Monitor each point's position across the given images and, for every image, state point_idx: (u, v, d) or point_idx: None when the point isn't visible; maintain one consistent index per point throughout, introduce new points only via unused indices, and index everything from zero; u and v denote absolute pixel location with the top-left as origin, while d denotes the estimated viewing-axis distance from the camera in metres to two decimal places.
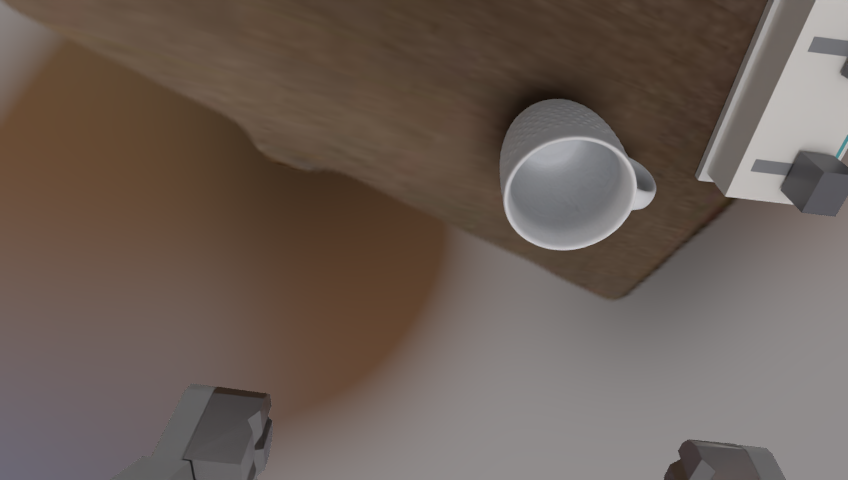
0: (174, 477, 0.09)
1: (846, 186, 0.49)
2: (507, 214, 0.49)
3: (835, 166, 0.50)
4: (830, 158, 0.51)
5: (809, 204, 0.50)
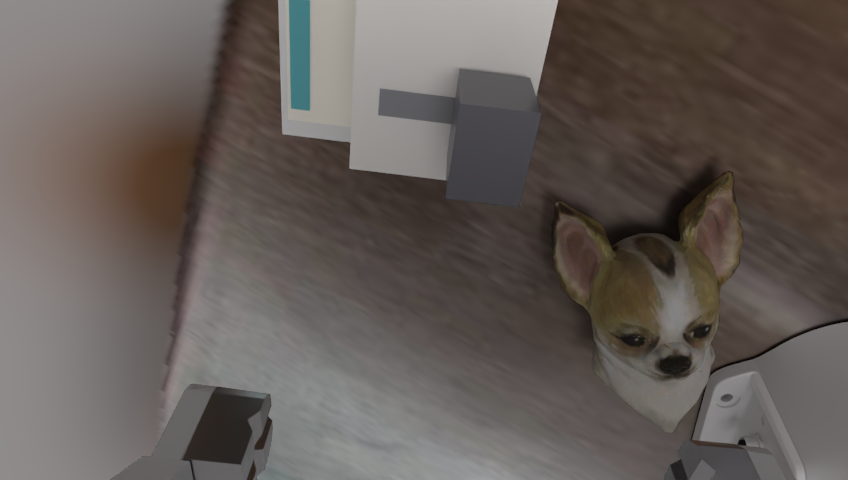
0: (174, 477, 0.09)
1: None
2: None
3: None
4: None
5: None
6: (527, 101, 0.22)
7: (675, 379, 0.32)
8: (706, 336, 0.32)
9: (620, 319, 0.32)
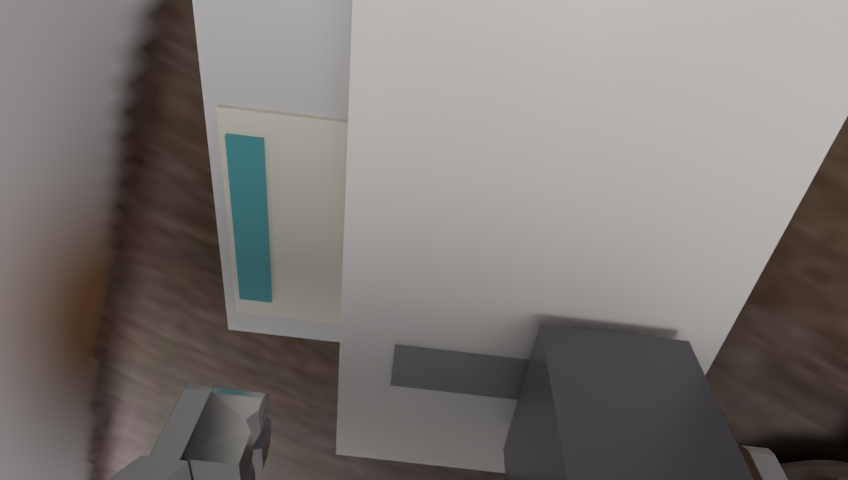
0: (172, 477, 0.09)
1: None
2: None
3: None
4: None
5: None
6: (723, 466, 0.09)
7: None
8: None
9: None
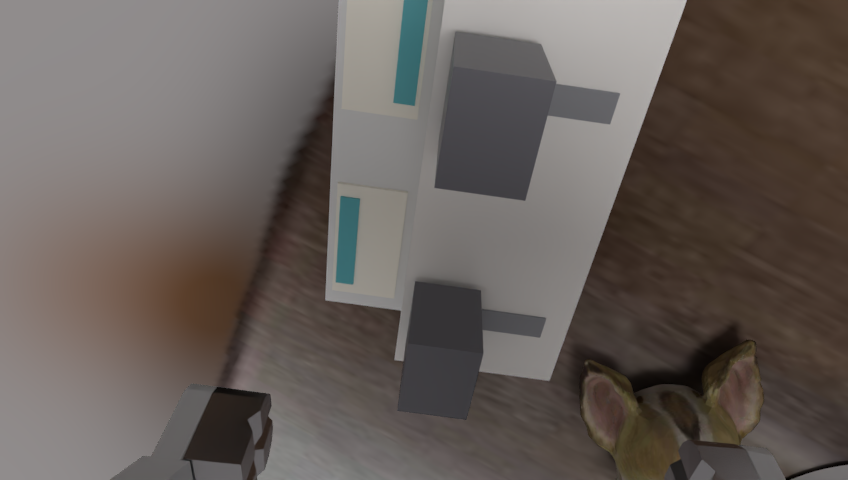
0: (174, 477, 0.09)
1: None
2: None
3: None
4: None
5: None
6: (473, 333, 0.24)
7: None
8: None
9: (646, 477, 0.33)
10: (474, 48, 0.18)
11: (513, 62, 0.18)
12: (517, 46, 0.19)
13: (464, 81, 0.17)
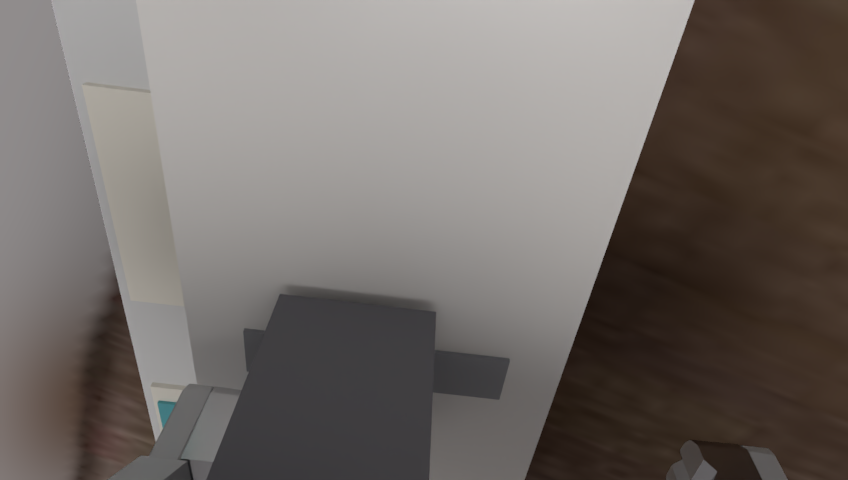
0: (172, 477, 0.09)
1: None
2: None
3: None
4: None
5: None
6: None
7: None
8: None
9: None
10: (292, 365, 0.10)
11: (355, 423, 0.09)
12: (385, 335, 0.10)
13: None
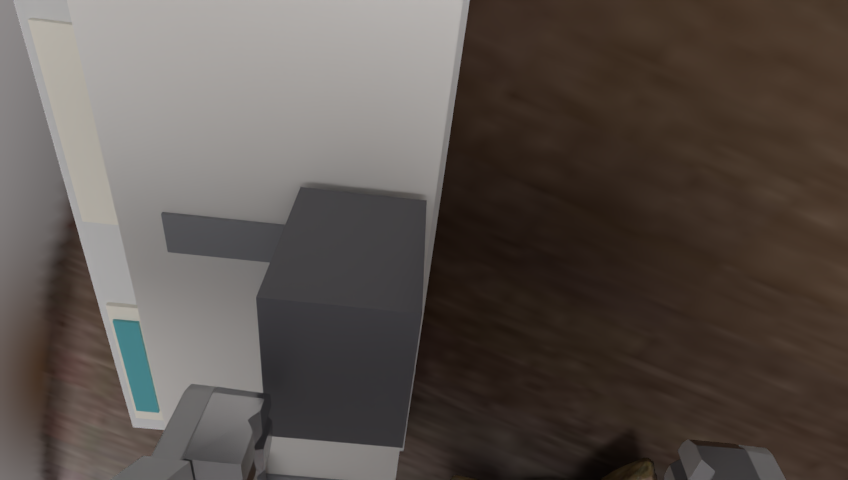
0: (174, 477, 0.09)
1: None
2: None
3: None
4: None
5: None
6: None
7: None
8: None
9: None
10: (314, 231, 0.12)
11: (366, 266, 0.11)
12: (386, 214, 0.13)
13: (278, 315, 0.11)
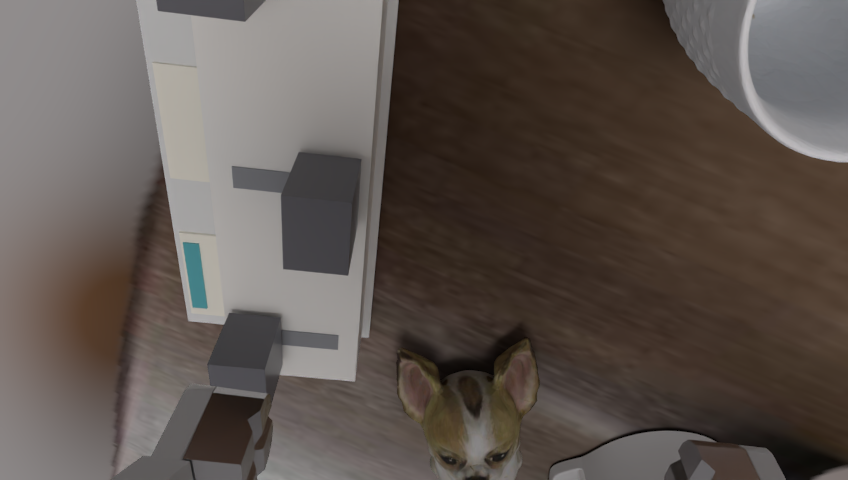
0: (174, 477, 0.09)
1: None
2: None
3: None
4: None
5: None
6: (262, 353, 0.32)
7: None
8: (503, 459, 0.42)
9: (439, 444, 0.41)
10: (306, 170, 0.26)
11: (328, 185, 0.25)
12: (340, 164, 0.27)
13: (289, 204, 0.25)
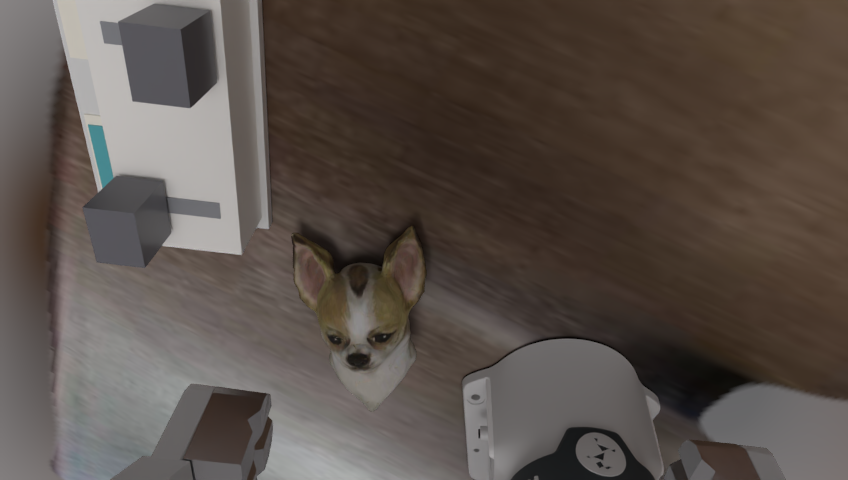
0: (174, 477, 0.09)
1: None
2: None
3: None
4: None
5: None
6: (135, 203, 0.35)
7: (362, 370, 0.44)
8: (386, 342, 0.44)
9: (325, 323, 0.44)
10: (152, 12, 0.30)
11: (167, 20, 0.29)
12: (187, 11, 0.30)
13: (127, 30, 0.28)
